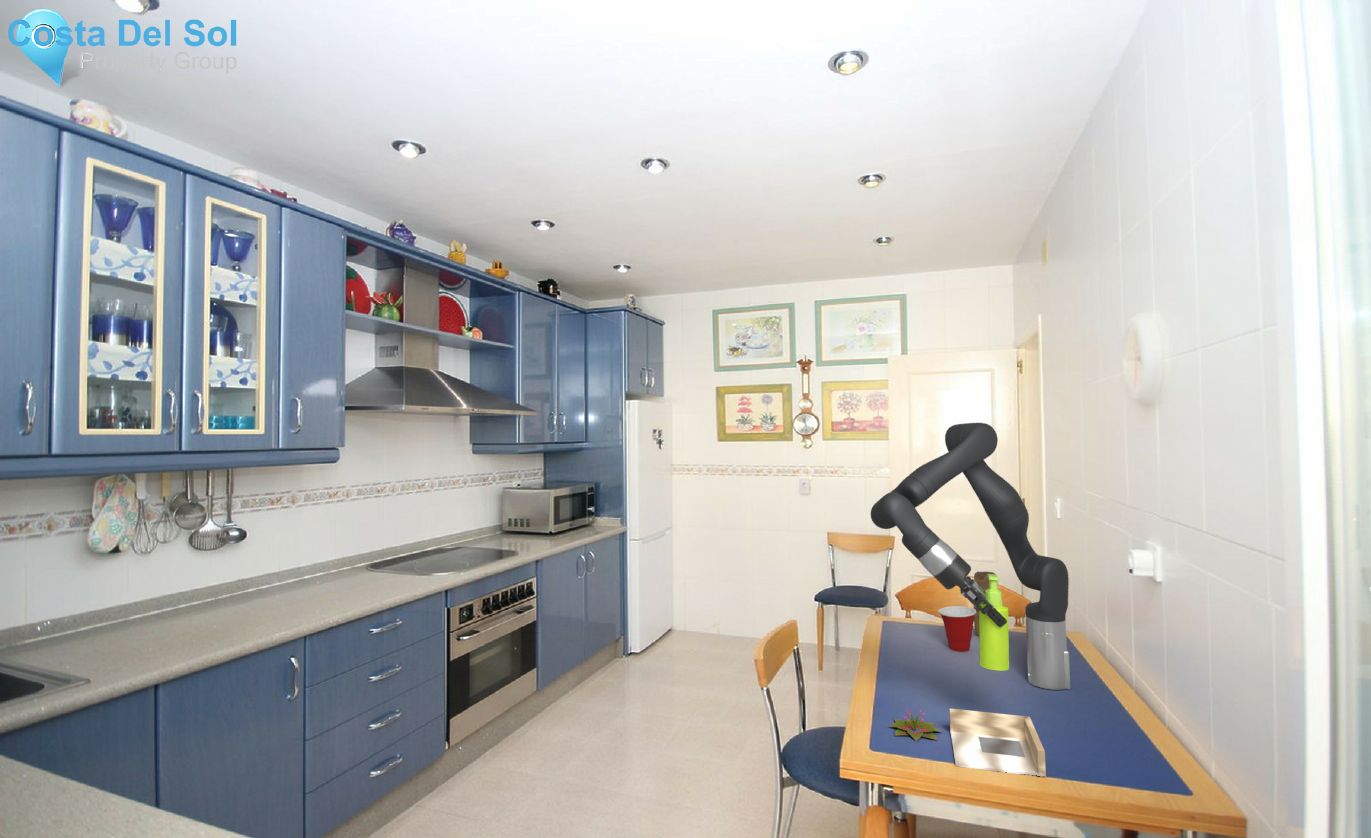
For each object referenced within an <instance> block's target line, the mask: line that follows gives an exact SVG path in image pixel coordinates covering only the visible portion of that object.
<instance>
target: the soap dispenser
mask: <svg viewBox="0 0 1371 838" xmlns="http://www.w3.org/2000/svg"><path fill="white" fill-rule="evenodd" d="M987 577H988V578H989V589H987V590H985V595H986V596H987V597H988V601H989V602H990V603H991V604H992V605H993V606H994V608H995V609H996V610H997V611H998V612H999V613H1000V614H1001V615H1002V616H1003V617H1004V618H1005V619H1006V620H1007V623H1006V624H1005V625H1003V626H1002V627H999V626H998V625H997V624H996V623H995V622H994V621H993V620H992V619H990V618H989V617H988V616H987V615H984V614H982V613H981V611H980V610H979V635H978V637H979V666H980V667H982V668H984V669H986V670H990V671H991V670H992V671H997V672H998V671H999V672H1004V671H1008V670H1010V654H1009V653H1010V651H1009V647H1010V646H1009V645H1010V643H1009V641H1010V640H1009V635H1010V634H1009V631H1010V630H1009V608H1008V607H1007V606H1004V605H1003V596H1002V595H1003V593H1002V591H1001V590H1000V589H998V581H999V576H998V574H996V573H995V574H987ZM986 605H987V604H986V603H985V604H981V607H982V608H984V607H985V606H986Z"/></svg>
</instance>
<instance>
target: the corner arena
mask: <svg viewBox="0 0 1371 838" xmlns="http://www.w3.org/2000/svg"><path fill="white" fill-rule="evenodd" d="M949 728H950V730H949V731H950V737H951V744H952V745H951V746H952V750H953V751H952V752H953V757H954V758H953V759H954V764H955V767H961V768H968V769H973V770H974V769H976V770H982V771H984V770H985V771H991V772H997V771H1002V772H1001V773H1005V772H1007V773H1006V774H1014V773H1015V774H1014V775H1020V774H1030V775H1037V776H1045V777H1046V778H1047V775H1046V774H1047V773H1046V771H1047V770H1046V750H1045V748H1044V747H1043V746H1044V745H1043V744H1042V742H1041V740H1040V737H1039V734H1038V732H1037V731H1036V728H1035V726H1034V723H1033V721H1032V719H1031V717H1030V716H1028V715H1027V716H1024V715H1016V714H1015V715H1014V714H1005V713H996V712H987V711H979V710H967V709H960V708H959V709H957V708H949Z"/></svg>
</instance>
